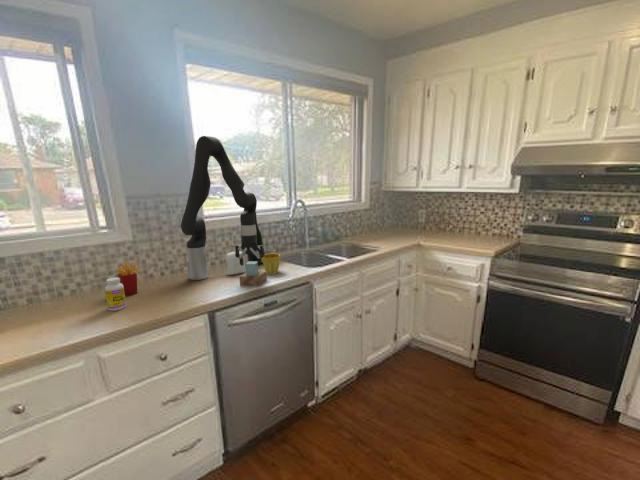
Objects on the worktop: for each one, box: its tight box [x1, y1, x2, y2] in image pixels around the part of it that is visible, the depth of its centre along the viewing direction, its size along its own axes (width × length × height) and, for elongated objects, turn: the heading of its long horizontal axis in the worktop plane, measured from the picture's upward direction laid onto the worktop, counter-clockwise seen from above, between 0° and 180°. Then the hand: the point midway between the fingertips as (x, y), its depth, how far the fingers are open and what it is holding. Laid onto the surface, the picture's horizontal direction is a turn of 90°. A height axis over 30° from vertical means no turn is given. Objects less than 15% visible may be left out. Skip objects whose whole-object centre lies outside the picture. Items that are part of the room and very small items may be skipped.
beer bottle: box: [246, 212, 264, 264], centre depth 199 cm, size 10×10×33 cm
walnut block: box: [238, 270, 268, 288], centre depth 163 cm, size 10×10×5 cm
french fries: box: [116, 262, 141, 297], centre depth 153 cm, size 9×8×15 cm
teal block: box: [245, 261, 260, 276], centre depth 162 cm, size 5×5×6 cm
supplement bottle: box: [104, 276, 127, 312], centre depth 135 cm, size 7×7×13 cm
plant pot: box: [261, 253, 281, 275], centre depth 180 cm, size 10×10×10 cm
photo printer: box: [225, 250, 246, 276], centre depth 180 cm, size 10×4×12 cm, turn 123°
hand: (250, 265), depth 162 cm, fingers open, 8 cm apart
